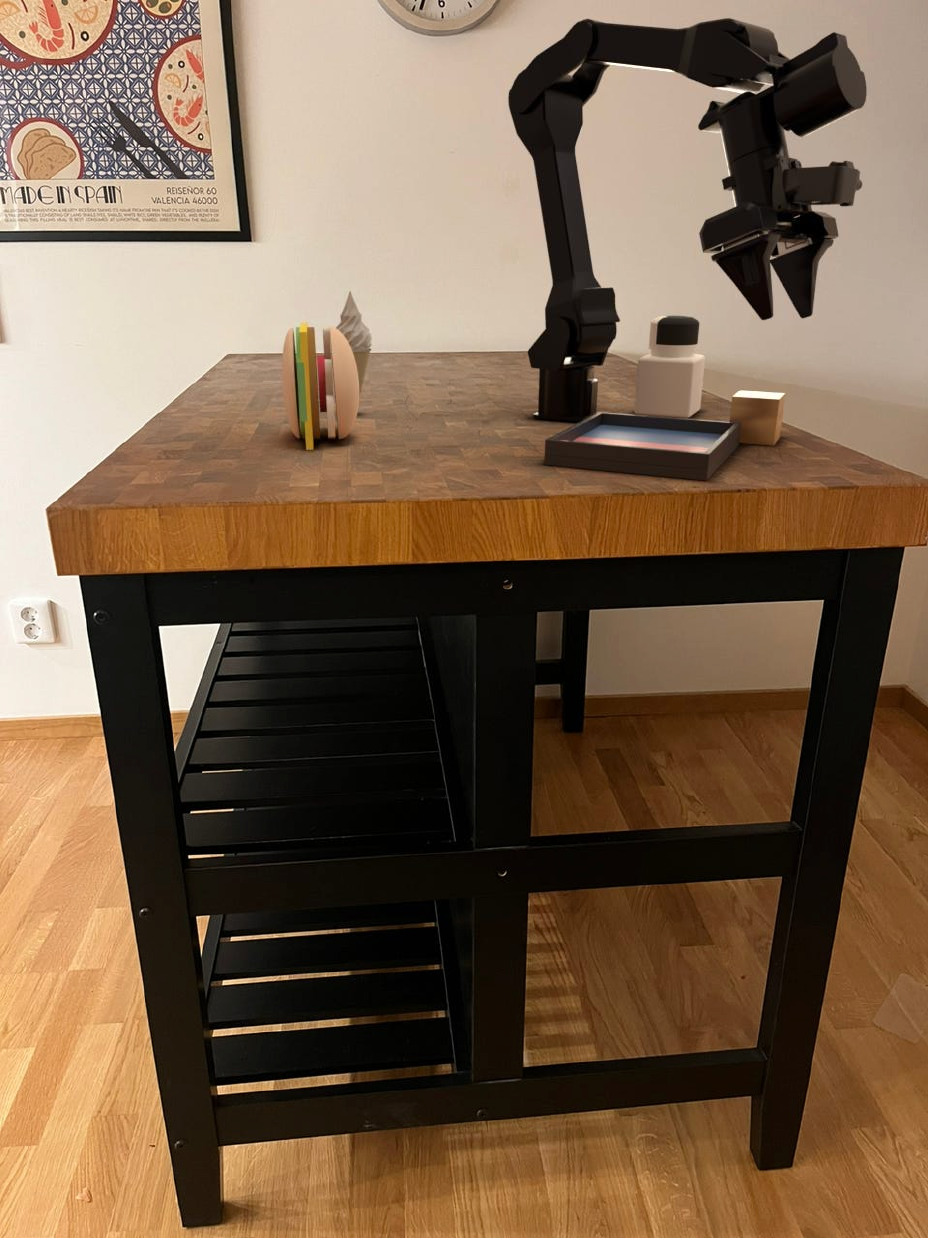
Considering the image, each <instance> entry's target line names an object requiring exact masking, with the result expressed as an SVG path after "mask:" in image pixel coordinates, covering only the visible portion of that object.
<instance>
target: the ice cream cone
mask: <svg viewBox="0 0 928 1238" xmlns="http://www.w3.org/2000/svg"><path fill="white" fill-rule="evenodd" d="M339 316H340V322H339V323H338V325H337V326H336V327H335V328H336V329H338V330H339V331H340V332H341V333H342V334H343V335H344V336H345V338H346V339H347V341H348V343H349V345H350V347H351V349H352V352H353V355H354V358H355V362H356V366H357V371H358V378H359V400H360V399H361V394H362V390H363V385H364V380H365V376H366V372H367V367H368V363H369V358H370V355H371V351H372V348H371V347H372V333H371V332H370V328H369V327H368V326H367V325H366V324H365V323H364V322H363V320H362V319H363V318H362V313H361V312H360V310H359V308H358V306H357V304H356V302H355V300H354V297H353V294H352V292H351V290H349V292H348V295H347V298H346V302H345V303H344V307H343V310H342V312H341V313H340V315H339Z"/></svg>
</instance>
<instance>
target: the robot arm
mask: <svg viewBox="0 0 928 1238" xmlns="http://www.w3.org/2000/svg"><path fill="white" fill-rule="evenodd" d="M848 45H849V44H848V40H847V36H846V35H845V34H842V33H838V32H835V31H833V32H831V33H829V34H828V35H826V36H825V37H823V38H822V39H821V38H820V40H819V41H818V42H816V44H815V45H813V46H811V47H810V48H808V49H806V50H805V51H803V52H801V53H799V54H798V55H796V56H794V57H793V58H791V59H790V58H789V57H787V56H786V55H785V54H784V53H782V52H781V51H780V50H779V45H778V41H777V40H776V37H775V33H774V32H773V31H772V30H770V29H769V28H765V27H764V26H759V25H756V24H752V23H749V22H745V21H742V20H737V19H734V18H731V17H728V18H727V17H726V18H721V19H713V20H708V21H702V22H698V23H695V24H693V25H690V26H689V27H682V28H670V27H660V26H659V27H658V26H656V27H655V26H648V25H647V26H645V25H635V24H634V25H633V24H621V23H611V22H610V23H609V22H603V21H600V20H595V19H591V18H585V19H582V20H579V21H577V22H576V23H575V24H574V25H572V27H570V29H569V30H568V32H567V33H566V34H565V35H564V36H563V37H562V38H560V39H559V40H557V42H554V43H553V44H551V46H548V48H546V49H544V50H542V51H541V52H540V53H538V54H537V55H536V56H535V57H533V59H532V60H531V61H530V63H528V65H527V66H526V67H525V68H524V69H523V70H521V72H520V73H518V74H517V75H516V78H515V79H514V80H513V84H512V86H511V88H510V89H509V90H508V97H507V100H508V101H507V102H508V103H507V104H508V109H509V113H510V116H511V120H512V123H513V127H514V129H515V133H516V135H517V137H518V138H519V140H520V141H521V143H522V145H523V147H524V148H525V149H526V150H527V152H528V154H529V155H530V156H531V159H532V161H533V162H532V163H533V168H534V173H535V180H536V186H537V193H538V199H539V205H540V210H541V218H542V224H543V230H544V236H545V243H546V251H547V255H548V261H549V269H550V274H551V281H552V282H551V283H552V286H551V289H550V292H549V296H548V298H547V301H546V303H545V307H544V317H545V318H544V321H545V323H544V325H545V328H544V330H543V331H542V332H541V333H540V335H539V336H538V338H537V339H536V340H535V341H534V342H533V343H532V344H531V346H530V347H529V349H528V350H527V355H528V361H529V365H530V367H531V369H536V370H539V371H538V372H539V374H538V375H539V376H538V400H537V401H538V402H537V411H536V412H535V413H532V418H533V419H543V420H553V421H554V420H556V421H569V422H581V421H583V420H585V419H587V418H589V417H590V416H592V415H594V414H596V413H597V409H598V408H597V406H598V390H599V380H598V379H597V378H595V367H601V366H604V362H605V360H606V357H607V355H608V351H609V348H610V347H611V346H612V344H613V342H614V340H615V339H617V330H618V329H617V323H620V322H621V319H620V316H619V315H618V312H617V307H616V292H615V290H614V288H613V286H606V287H605V286H604V287H603V286H601V284H600V283H599V281H598V280H597V279H596V276H595V274H594V269H593V268H594V267H593V263H592V256H591V247H590V243H589V242H590V241H589V236H588V229H587V222H586V216H585V210H584V209H585V208H584V202H583V196H582V190H581V183H580V175H579V169H578V163H577V157H576V147H577V144H578V141H579V139H580V135H581V132H582V129H583V124H584V116H583V115H584V112H583V109H584V108H583V107H584V106H585V105H586V104H587V103H588V102H589V101H590V100H591V99H592V98H593V97H594V96H595V94H596V93H597V92H598V89H599V86H600V84H601V81H602V79H603V77H604V74H605V71H606V70H607V69H608V68H609V67H610V66H611V65H613V66H620V67H629V68H637V69H645V70H653V71H663V72H672V73H677V74H679V75H680V76H683V77H685V78H687V79H689V80H692V81H695V82H696V83H699V84H701V85H704V86H707V87H709V88H714V89H718V90H722V91H729V92H734V93H739V95H736V96H735V97H733V98H731V99H730V100H728V101H727V102H722V101H718V100H717V101H716V100H711V101H710V102H709V105H708V108H707V110H706V111H705V113H704V114H703V116H702V117H701V119H700V121H699V123H698V124H697V128H698V130H699V131H701V132H710V133H716V134H720V135H721V140H722V141H721V142H722V146H723V150H724V155H725V161H726V166H727V171H728V176H726V177H724V178H722V179H721V183H722V187H723V188H722V189H723V191H728V192H732V198H733V202H734V207H731V208H729V209H727V210H725V211H723V212H720V213H718V214H716V215H713V216H711V217H708V218H706V219H705V220H704V222H703V225H702V226H701V228H700V230H699V232H698V235H699V239H700V245H701V251H702V253H703V254H712V255H711V256H710V259H711V262H714V263H716V264H717V266H718V267H719V268H720V269H721V270H722V272H723V273H724V274H725V275H726V276H727V277H728V279H729V280H730V281H731V282H732V283H733V285H734V286H735V287H736V288H737V290H738V291H739V292H740V294H741V295H742V296H743V298H744V299H745V300H746V302H747V303H748V305H749V306H750V307H751V308H752V310H753V311H754V312H755V314H756V315H757V316H758V318H759V319H760V321H767V320H770V319H772V318H773V317H774V295H773V282H772V269H773V271H774V273H775V274H776V276H777V278H778V280H779V282H780V284H781V285H782V287H783V289H784V291H785V293H786V295H787V296H788V298H789V300H790V301H791V304H792V305H793V308H794V309H795V311H796V312H797V314H798V316H799V317H800V319H807V318H810V317H812V316H813V314H814V313H813V312H814V303H815V293H816V285H817V284H816V283H817V274H818V268H819V263H820V261H821V259H822V257H823V256H824V254H825V253H826V252H827V250H828V249H830V248H831V247H832V246H833V245H834V242H835V239H837V238H838V237H840V236H839V230H838V225H837V224H838V223H837V219H836V217H834V216H832V215H830V214H829V213H827V212H824V211H823V212H822V211H817V210H816V211H815V210H813V208H812V206H831V205H839V206H840V207H842V208H843V207H853V206H854V202H855V196H856V192H857V191H860V190H861V189H862V187H863V181H862V180H861V179H860V175H861V171H860V170H859V169H858V168H855V165H854V162H853V161H850V160H844V161H843V162H842V161H836V160H834V161H831V162H830V163H829V165H827V166H809V167H808V166H807V167H806V166H805V167H803V165H802V162H801V161H800V160H798V159H797V158H793V157H790V155H789V149H788V144H787V139H786V134H785V131H786V132H793V134H794V135H795V136H797V137H799V138H803V137H804V138H805V137H806V136H809V135H810V134H813V133H814V132H816V131H819V130H820V129H822V128H824V127H827V126H828V125H830V124H832V123H835V122H836V121H839V120H840V119H842V118H844V117H847V116H848V115H850V114H852V113H854V112H857V111H859V110H860V109H863V107H864V106H865V103H866V101H867V94H868V93H867V92H868V91H867V89H868V87H867V81H866V74H865V73H864V71H862V70H861V67H860V64H859V62H858V60H857V58H856V55H855V54H854V53H853V51H852V50H851V48H849V46H848ZM575 70H576V71H575ZM573 71H575V72H574V73H572V72H573ZM570 73H572V75H571V74H570ZM764 86H769V87H767V88H765V89H764V90H762V88H763V87H764ZM761 90H762V91H761ZM771 267H772V268H771Z"/></svg>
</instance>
